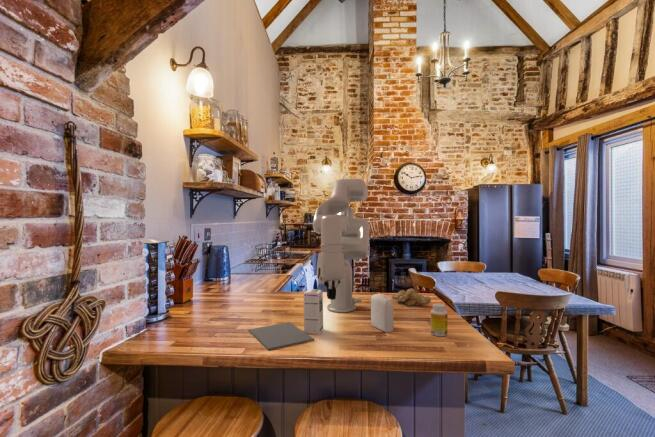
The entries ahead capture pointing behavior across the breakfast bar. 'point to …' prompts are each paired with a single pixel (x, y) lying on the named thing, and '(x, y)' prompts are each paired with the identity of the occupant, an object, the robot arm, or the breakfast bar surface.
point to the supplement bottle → (439, 320)
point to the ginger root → (411, 298)
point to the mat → (280, 335)
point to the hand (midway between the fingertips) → (331, 298)
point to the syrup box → (313, 311)
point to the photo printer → (382, 312)
